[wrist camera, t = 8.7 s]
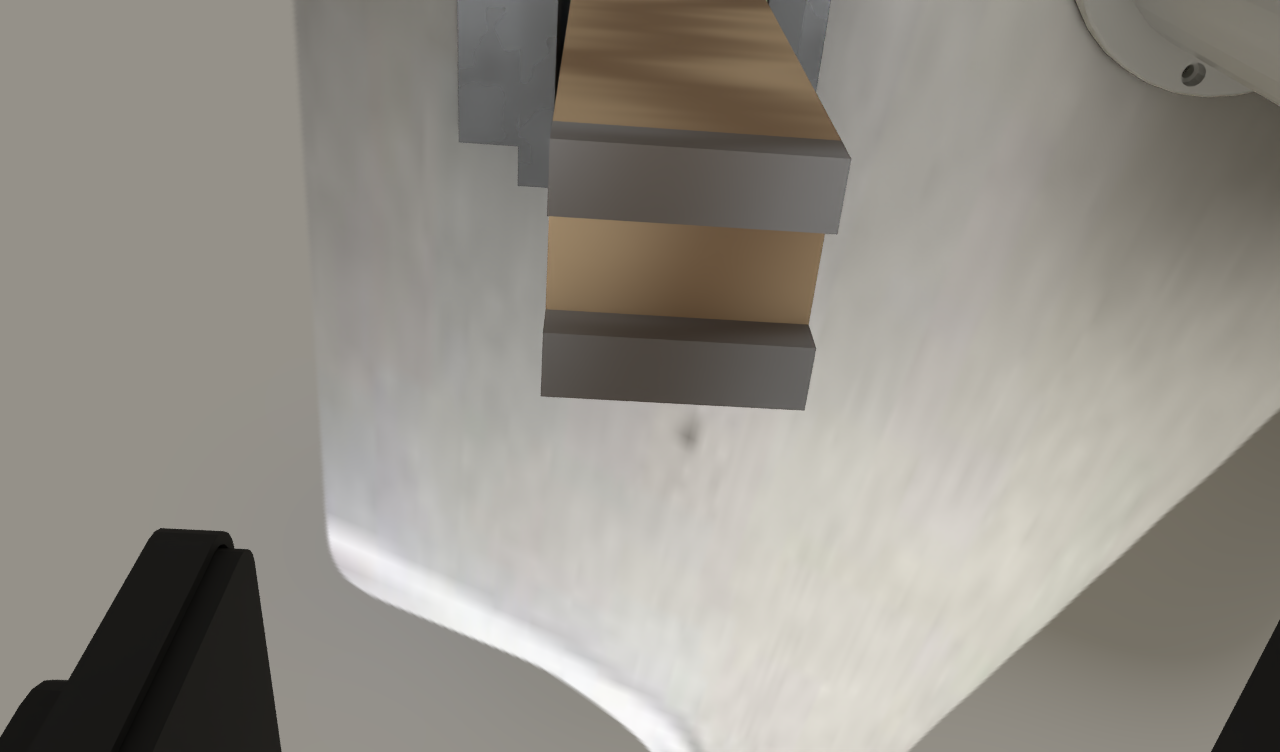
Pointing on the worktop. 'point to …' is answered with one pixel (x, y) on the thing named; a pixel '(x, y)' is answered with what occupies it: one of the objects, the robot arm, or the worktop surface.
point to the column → (685, 207)
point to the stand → (557, 69)
